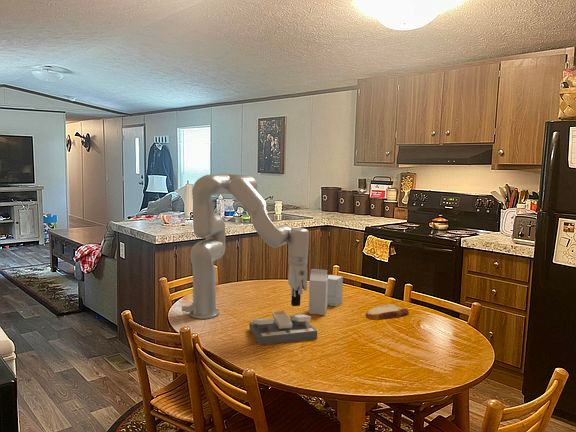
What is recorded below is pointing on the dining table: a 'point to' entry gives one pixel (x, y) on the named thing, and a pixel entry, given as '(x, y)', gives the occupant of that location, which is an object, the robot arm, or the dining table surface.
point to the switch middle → (282, 319)
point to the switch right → (300, 317)
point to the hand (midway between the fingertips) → (295, 305)
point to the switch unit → (282, 332)
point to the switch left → (263, 321)
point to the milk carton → (318, 292)
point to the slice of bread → (385, 312)
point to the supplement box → (334, 290)
